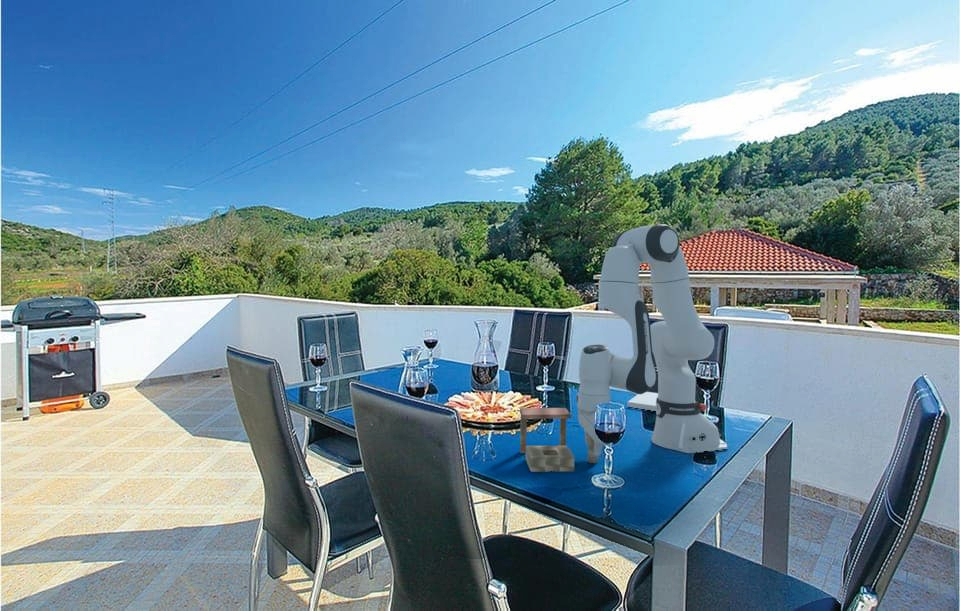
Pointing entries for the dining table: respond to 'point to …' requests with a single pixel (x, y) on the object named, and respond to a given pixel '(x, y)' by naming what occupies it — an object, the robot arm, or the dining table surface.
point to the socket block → (549, 458)
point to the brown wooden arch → (543, 414)
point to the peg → (591, 451)
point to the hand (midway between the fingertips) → (592, 449)
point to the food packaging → (644, 401)
